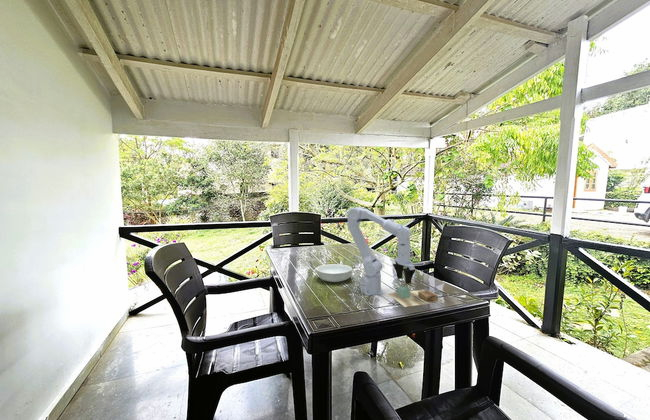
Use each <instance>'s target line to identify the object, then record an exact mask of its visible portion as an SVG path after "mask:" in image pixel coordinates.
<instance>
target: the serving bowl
mask: <svg viewBox="0 0 650 420" xmlns="http://www.w3.org/2000/svg"><path fill="white" fill-rule="evenodd" d="M315 269H316V274H317V276H318V277H319V278H320V279H321V280H323V281H325V282H330V283H340V282H343V281H346V280H348V279H349V278H350V277H351V275H352V273H353V268H352V267H351V266H350V265H346V264H342V263H341V264H340V263H331V264H330V263H328V264H327V263H326V264H322V265H319V266H317V267H316V268H315Z"/></svg>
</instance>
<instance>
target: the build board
mask: <svg viewBox="0 0 650 420" xmlns="http://www.w3.org/2000/svg"><path fill="white" fill-rule="evenodd" d="M422 291H425V290H424V289H417V290H410V297H408V298H401V297H400V296H398V292H391V293H387V295H388V296H389V297H391V298H392V299H394V300H395V301H396V302H397V303H399V304H400V305H402V306H403V307H404V308H407V307H415V306H423V305H429V304H430V305H431V304H437V303H444V302H445V301H444V300H442V299H440V298H439V297H438V300H437V301H430V302H425V301H424V300H422V299H421V298H419V297H418V292H422Z"/></svg>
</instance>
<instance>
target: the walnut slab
mask: <svg viewBox="0 0 650 420" xmlns="http://www.w3.org/2000/svg"><path fill="white" fill-rule="evenodd" d="M418 297H419V298H421V299H422V300H424V301H425V302H430V301H437V300H438V298H439V297H438V294H437V293H435V292H432V291H431V290H424V291H422V292H418Z"/></svg>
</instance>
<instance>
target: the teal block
mask: <svg viewBox="0 0 650 420" xmlns="http://www.w3.org/2000/svg"><path fill="white" fill-rule="evenodd" d="M410 291H411V289H410V288H409V287H407V286H405V285H403V286H398V287H397V293H398V296H400V297H401V298H408V297H410Z"/></svg>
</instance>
